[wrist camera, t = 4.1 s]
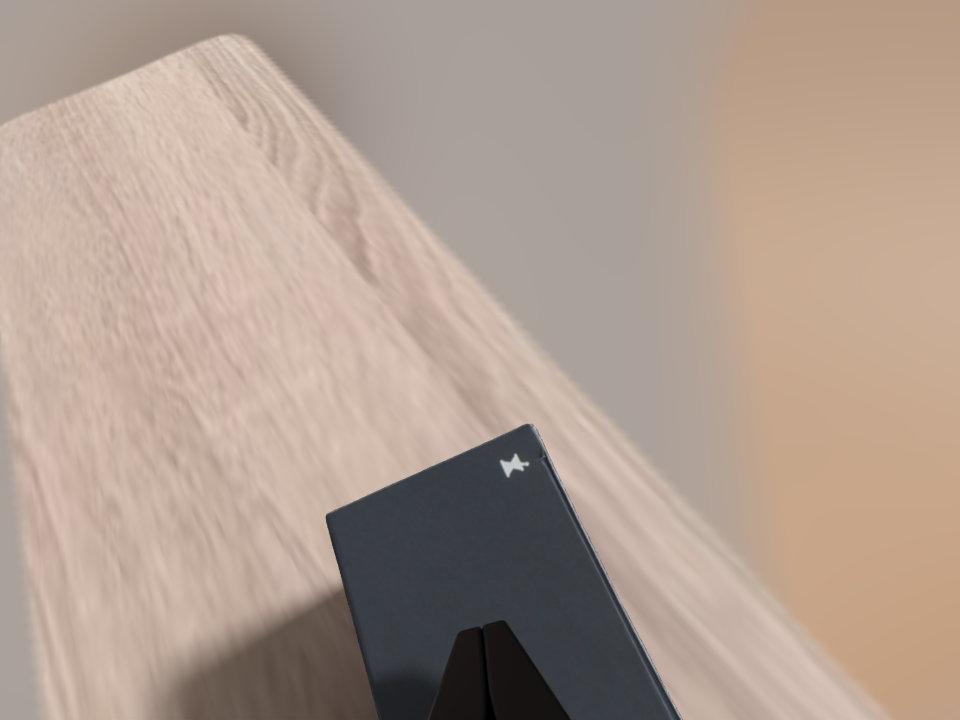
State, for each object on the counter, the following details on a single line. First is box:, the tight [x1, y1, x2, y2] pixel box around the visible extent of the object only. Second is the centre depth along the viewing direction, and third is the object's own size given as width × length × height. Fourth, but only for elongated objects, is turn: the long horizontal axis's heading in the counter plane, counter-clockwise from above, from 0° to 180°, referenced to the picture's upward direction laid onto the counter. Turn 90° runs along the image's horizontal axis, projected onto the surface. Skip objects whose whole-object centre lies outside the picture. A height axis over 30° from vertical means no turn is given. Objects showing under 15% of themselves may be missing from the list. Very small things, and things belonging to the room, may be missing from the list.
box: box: [326, 424, 683, 720], centre depth 14 cm, size 8×6×11 cm
